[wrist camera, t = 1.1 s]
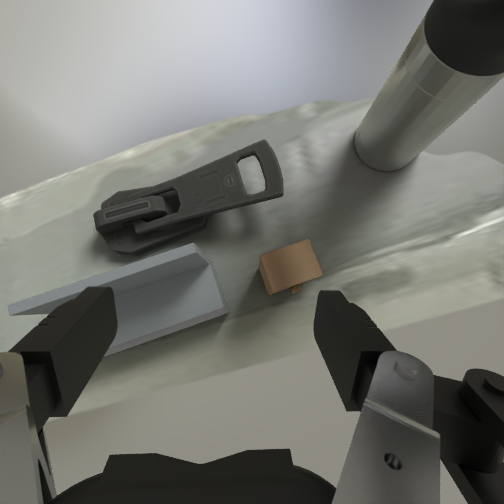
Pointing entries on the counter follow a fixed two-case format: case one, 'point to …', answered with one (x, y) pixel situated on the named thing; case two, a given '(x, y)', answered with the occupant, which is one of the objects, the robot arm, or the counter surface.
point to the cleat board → (147, 296)
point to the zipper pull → (183, 202)
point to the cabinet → (289, 267)
